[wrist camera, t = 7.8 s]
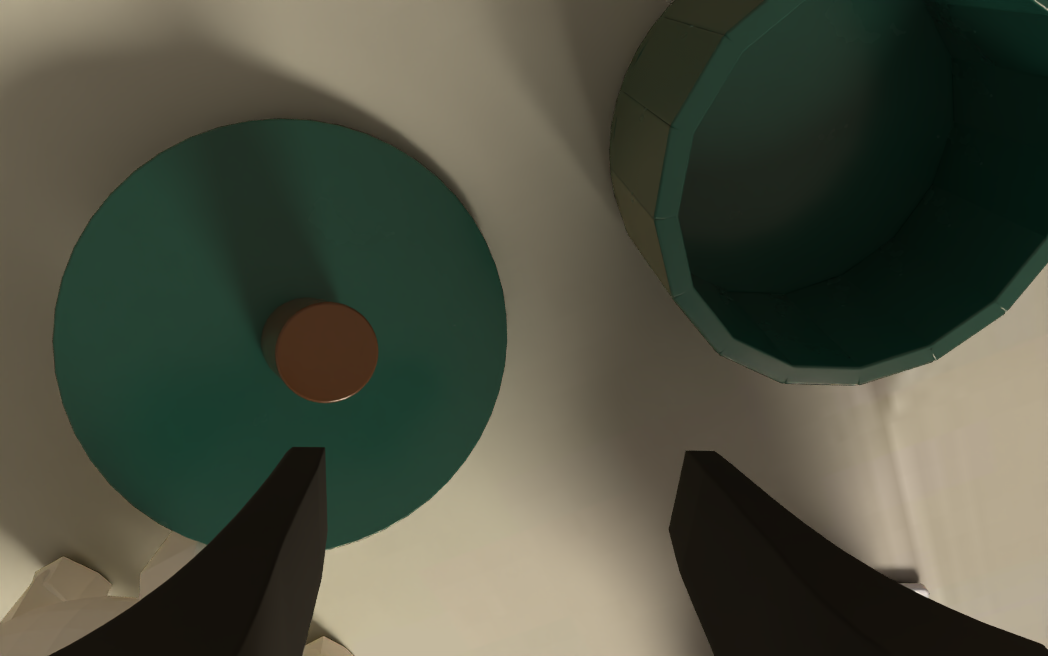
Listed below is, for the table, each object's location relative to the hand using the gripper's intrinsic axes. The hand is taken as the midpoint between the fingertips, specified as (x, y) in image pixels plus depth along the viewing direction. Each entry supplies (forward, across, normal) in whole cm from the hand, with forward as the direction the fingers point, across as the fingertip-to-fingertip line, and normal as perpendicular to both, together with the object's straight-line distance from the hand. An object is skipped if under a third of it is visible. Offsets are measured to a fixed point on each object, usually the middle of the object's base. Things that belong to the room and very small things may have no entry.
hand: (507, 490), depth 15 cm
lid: (+8, +5, +1) cm, 9 cm away
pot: (+10, -9, -5) cm, 15 cm away
